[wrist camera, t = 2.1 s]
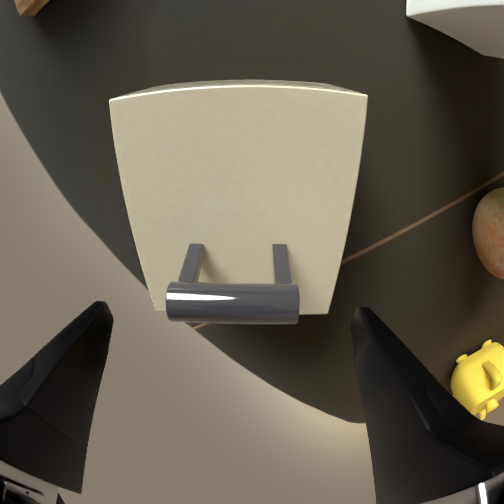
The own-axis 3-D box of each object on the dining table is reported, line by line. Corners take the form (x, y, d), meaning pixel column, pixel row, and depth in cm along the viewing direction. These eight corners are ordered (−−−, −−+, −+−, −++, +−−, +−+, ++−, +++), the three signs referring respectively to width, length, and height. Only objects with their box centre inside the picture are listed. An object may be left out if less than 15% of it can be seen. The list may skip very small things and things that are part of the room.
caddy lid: (326, 304, 17) (340, 376, 13) (158, 302, 18) (136, 371, 13) (362, 93, 10) (424, 115, 6) (116, 97, 10) (44, 124, 6)
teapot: (489, 365, 38) (506, 408, 29) (443, 389, 41) (457, 435, 33) (504, 317, 29) (533, 373, 20) (447, 350, 32) (470, 412, 24)
